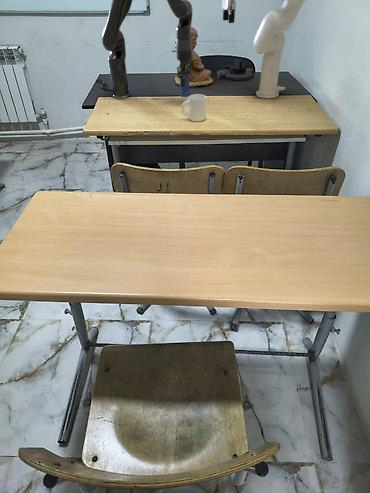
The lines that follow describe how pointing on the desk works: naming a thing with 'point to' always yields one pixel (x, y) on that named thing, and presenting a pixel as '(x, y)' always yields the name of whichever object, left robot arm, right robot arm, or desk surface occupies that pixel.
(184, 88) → the can
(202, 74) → the sculpture
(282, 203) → the desk surface
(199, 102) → the mug
